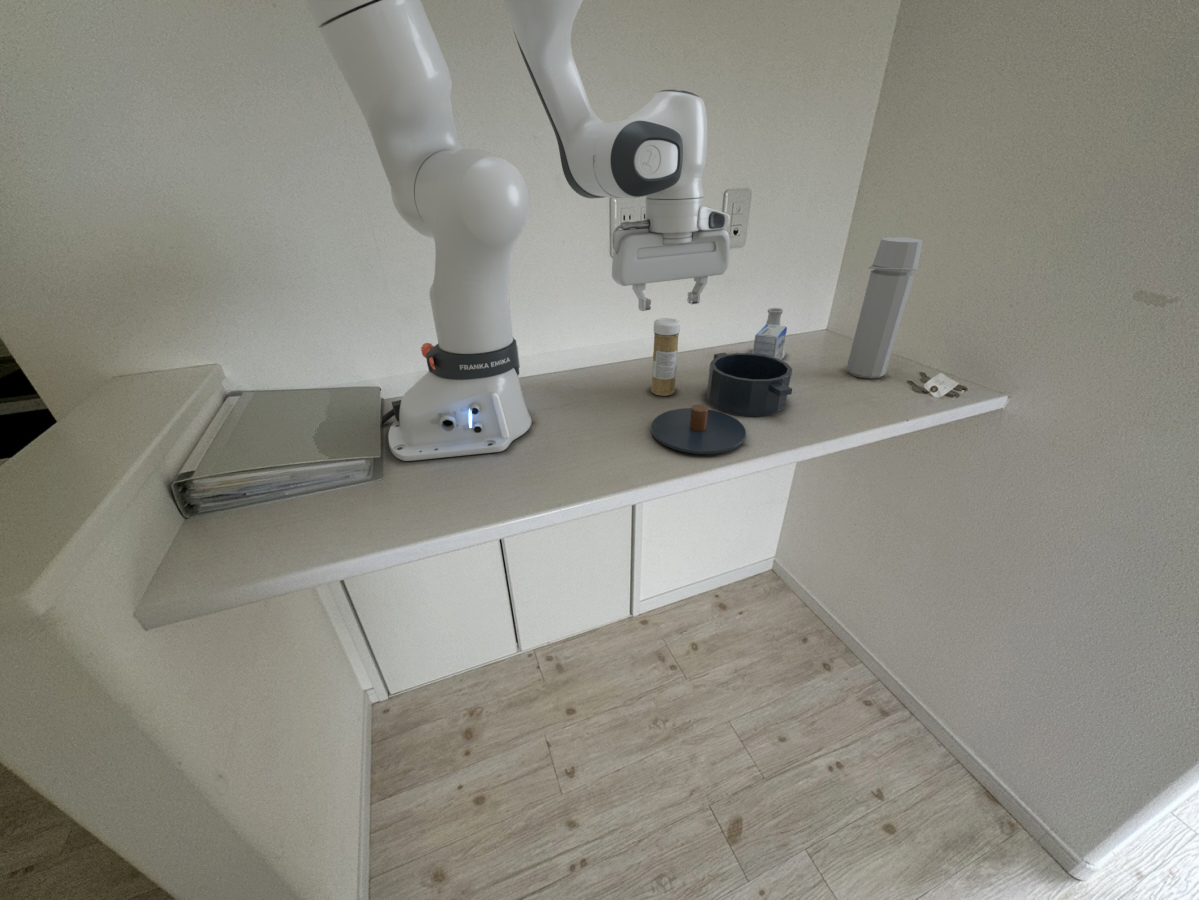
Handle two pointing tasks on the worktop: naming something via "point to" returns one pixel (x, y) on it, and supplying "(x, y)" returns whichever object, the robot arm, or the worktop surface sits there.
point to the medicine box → (770, 341)
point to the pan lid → (698, 430)
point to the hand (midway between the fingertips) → (669, 306)
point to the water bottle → (883, 306)
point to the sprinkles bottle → (665, 356)
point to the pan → (748, 384)
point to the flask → (774, 319)
